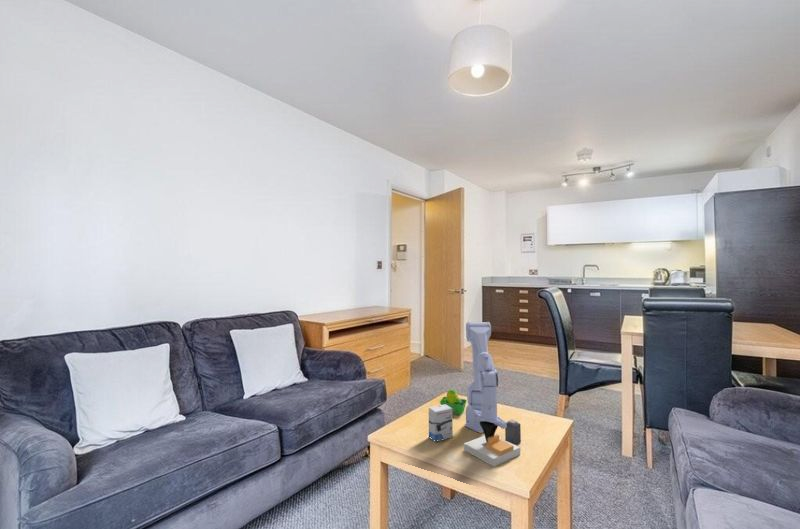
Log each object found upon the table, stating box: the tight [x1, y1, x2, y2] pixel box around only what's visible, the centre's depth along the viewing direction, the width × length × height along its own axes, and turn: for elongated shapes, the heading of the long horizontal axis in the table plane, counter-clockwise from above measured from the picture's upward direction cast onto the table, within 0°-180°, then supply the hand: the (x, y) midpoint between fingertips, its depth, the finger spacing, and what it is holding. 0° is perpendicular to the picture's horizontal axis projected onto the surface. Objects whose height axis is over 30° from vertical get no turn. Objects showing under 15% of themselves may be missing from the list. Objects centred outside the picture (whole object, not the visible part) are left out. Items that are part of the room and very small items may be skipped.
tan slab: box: [486, 433, 514, 456], centre depth 131 cm, size 7×7×4 cm
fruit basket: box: [439, 388, 468, 415], centre depth 174 cm, size 11×9×11 cm
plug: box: [504, 419, 522, 445], centre depth 143 cm, size 4×4×8 cm
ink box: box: [428, 404, 454, 442], centre depth 147 cm, size 8×5×12 cm, turn 117°
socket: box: [463, 435, 521, 467], centre depth 134 cm, size 14×14×2 cm
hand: (489, 441), depth 135 cm, fingers closed
